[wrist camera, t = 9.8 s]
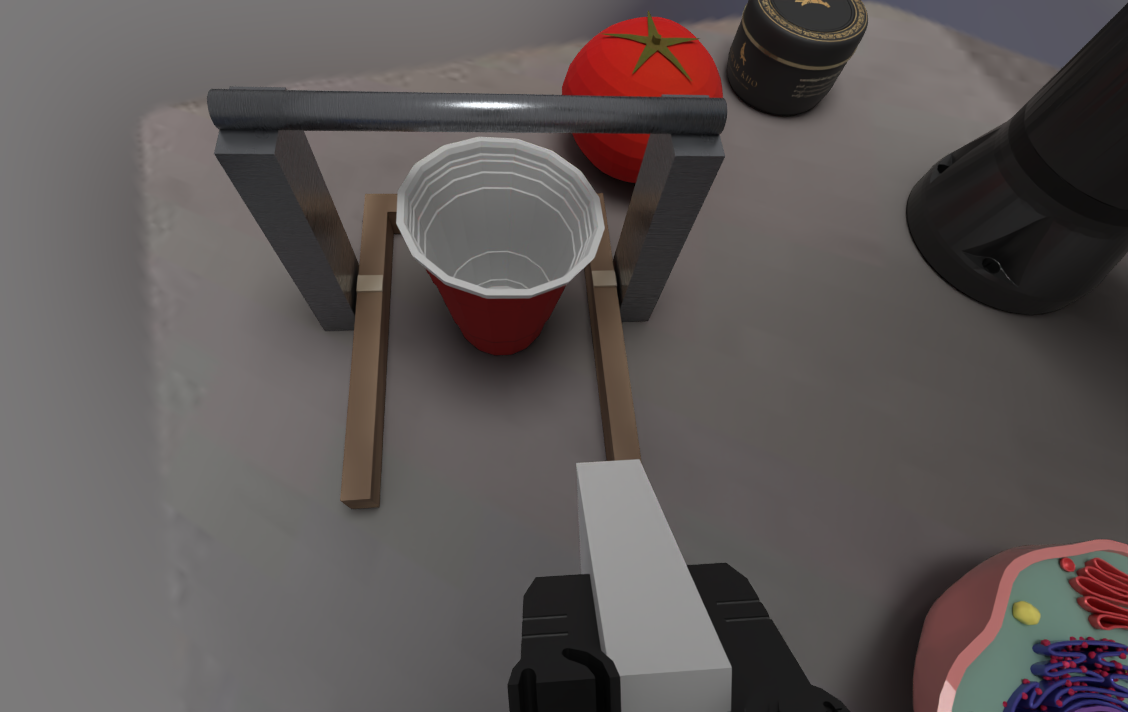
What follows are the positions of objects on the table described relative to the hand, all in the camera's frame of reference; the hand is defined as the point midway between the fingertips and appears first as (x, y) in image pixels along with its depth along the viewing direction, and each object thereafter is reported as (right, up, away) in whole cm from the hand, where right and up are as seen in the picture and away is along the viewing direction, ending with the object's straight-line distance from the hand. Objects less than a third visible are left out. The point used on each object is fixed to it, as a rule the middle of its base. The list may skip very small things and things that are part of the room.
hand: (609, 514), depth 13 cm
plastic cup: (-5, +6, +27) cm, 28 cm away
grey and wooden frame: (-6, +5, +25) cm, 27 cm away
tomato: (+4, +21, +34) cm, 40 cm away
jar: (+19, +29, +40) cm, 53 cm away
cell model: (+24, -17, +19) cm, 35 cm away
